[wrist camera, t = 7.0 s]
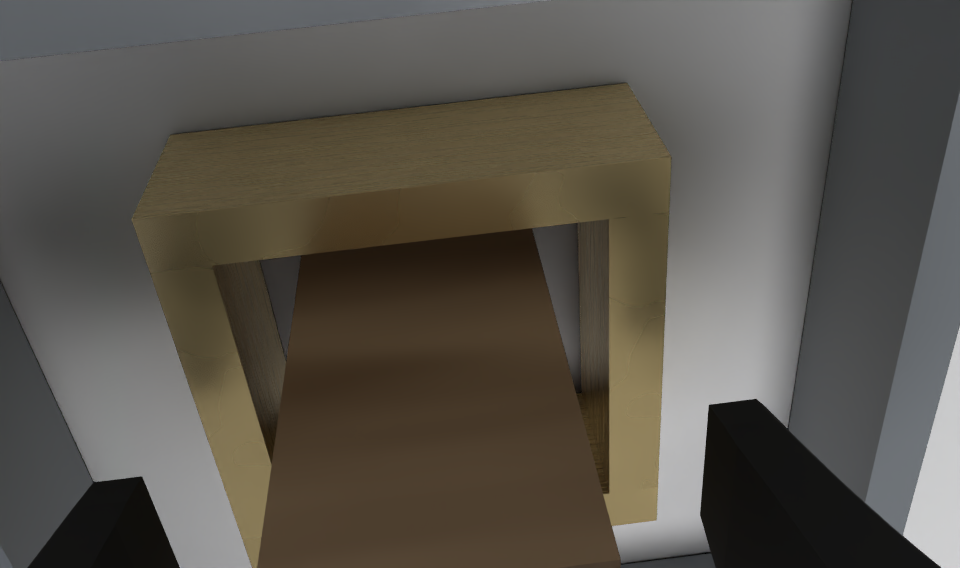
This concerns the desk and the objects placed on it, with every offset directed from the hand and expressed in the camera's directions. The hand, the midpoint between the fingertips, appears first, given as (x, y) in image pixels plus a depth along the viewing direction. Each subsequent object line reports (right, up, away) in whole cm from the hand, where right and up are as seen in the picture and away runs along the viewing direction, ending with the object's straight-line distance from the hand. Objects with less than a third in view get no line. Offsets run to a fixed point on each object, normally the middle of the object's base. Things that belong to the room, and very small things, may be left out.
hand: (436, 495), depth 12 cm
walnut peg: (0, +2, +4) cm, 5 cm away
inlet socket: (0, +3, +4) cm, 4 cm away
